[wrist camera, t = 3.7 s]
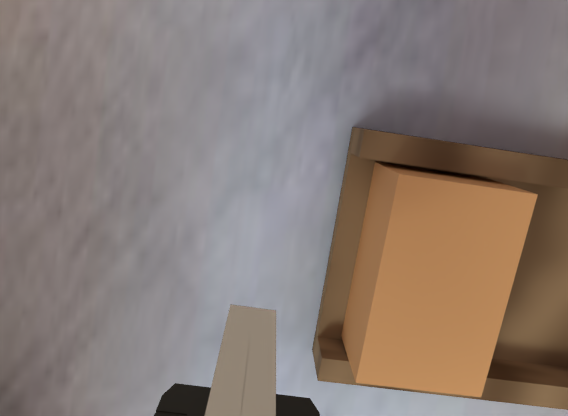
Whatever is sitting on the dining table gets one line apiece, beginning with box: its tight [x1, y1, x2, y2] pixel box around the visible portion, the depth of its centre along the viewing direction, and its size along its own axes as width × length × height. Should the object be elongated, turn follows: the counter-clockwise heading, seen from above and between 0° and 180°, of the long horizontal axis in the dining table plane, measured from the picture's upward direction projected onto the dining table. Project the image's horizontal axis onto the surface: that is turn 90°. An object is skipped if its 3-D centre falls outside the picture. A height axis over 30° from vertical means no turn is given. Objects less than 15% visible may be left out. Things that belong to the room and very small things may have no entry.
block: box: [341, 162, 538, 397], centre depth 25 cm, size 7×11×5 cm, turn 171°
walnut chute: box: [312, 127, 568, 410], centre depth 27 cm, size 22×15×4 cm
